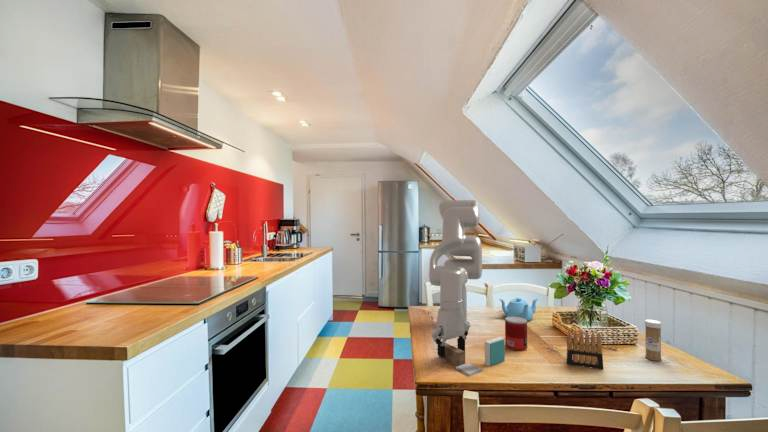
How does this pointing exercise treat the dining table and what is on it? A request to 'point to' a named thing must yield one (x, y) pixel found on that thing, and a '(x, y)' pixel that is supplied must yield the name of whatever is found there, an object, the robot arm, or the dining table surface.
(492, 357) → the tile
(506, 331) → the canned food
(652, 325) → the sprinkles bottle
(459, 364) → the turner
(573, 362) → the ammunition clip
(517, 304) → the teapot
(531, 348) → the dining table surface
